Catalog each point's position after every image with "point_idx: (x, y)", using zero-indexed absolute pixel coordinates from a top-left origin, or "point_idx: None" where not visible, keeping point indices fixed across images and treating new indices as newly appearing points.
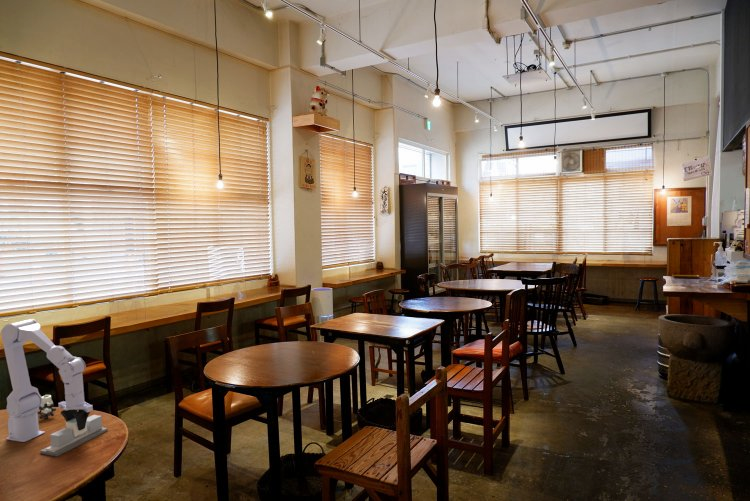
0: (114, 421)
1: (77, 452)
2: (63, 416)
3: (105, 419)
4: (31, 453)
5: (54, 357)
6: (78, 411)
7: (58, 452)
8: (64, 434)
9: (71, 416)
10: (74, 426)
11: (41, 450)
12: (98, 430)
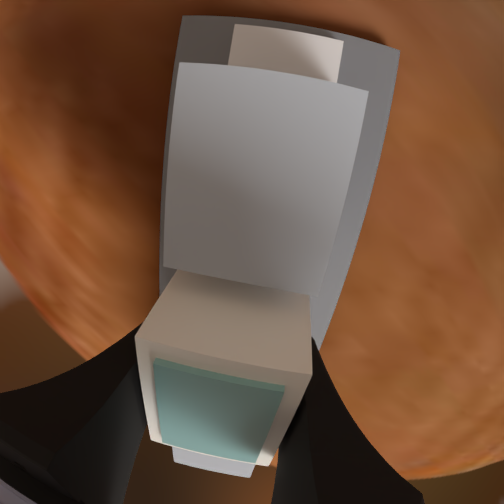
0: None
1: (91, 111)
2: (379, 457)
3: None
4: (460, 63)
5: None
6: (66, 495)
7: (184, 32)
8: (173, 151)
9: (290, 464)
10: (152, 313)
11: (388, 50)
12: None
